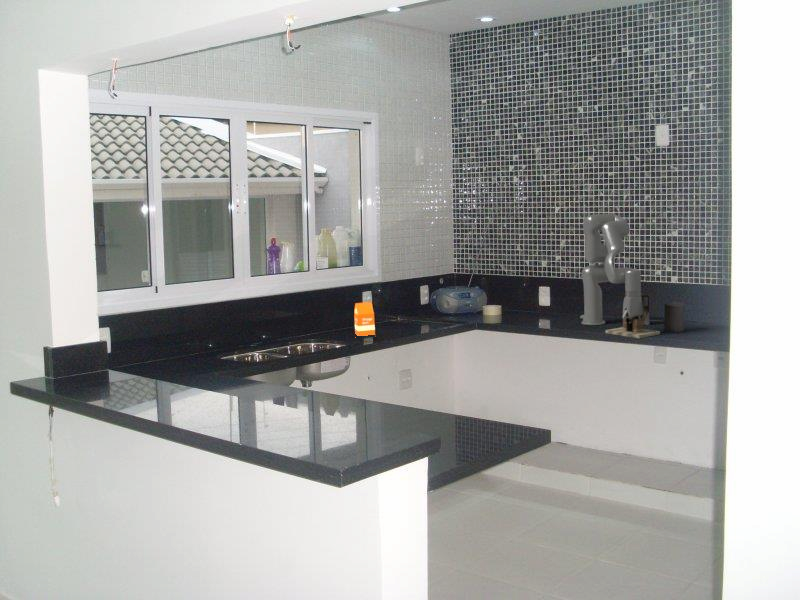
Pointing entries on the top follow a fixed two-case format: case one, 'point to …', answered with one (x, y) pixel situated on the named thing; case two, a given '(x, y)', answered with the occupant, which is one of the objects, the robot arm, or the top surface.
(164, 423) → the top surface
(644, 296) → the coffee box
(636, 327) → the block
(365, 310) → the orange juice
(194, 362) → the top surface
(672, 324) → the pillar candle
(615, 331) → the pine board
